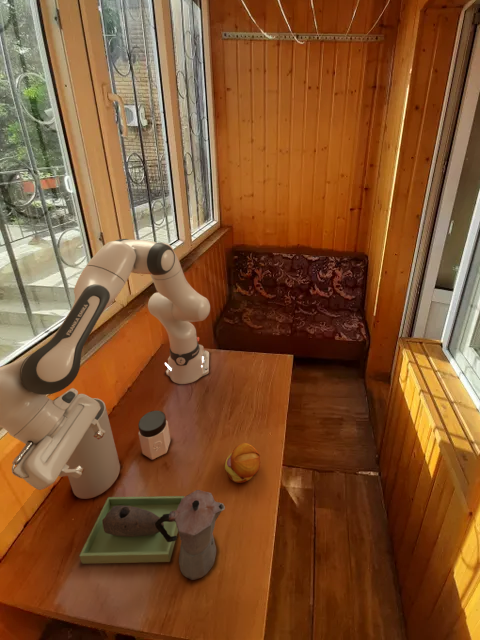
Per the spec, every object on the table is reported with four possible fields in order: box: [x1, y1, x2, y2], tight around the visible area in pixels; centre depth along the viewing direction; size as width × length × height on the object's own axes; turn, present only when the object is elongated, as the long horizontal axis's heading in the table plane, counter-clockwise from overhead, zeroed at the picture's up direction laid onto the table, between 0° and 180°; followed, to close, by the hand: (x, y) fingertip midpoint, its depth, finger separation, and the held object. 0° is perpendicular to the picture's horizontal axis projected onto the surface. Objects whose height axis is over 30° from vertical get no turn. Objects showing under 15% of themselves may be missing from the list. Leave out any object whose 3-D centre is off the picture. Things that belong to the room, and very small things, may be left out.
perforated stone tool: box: [102, 505, 164, 537], centre depth 80 cm, size 15×5×7 cm, turn 85°
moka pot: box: [155, 489, 226, 581], centre depth 73 cm, size 10×15×20 cm, turn 106°
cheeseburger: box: [224, 442, 261, 484], centre depth 96 cm, size 10×11×10 cm
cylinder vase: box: [66, 397, 121, 500], centre depth 90 cm, size 12×12×25 cm
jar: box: [137, 410, 172, 461], centre depth 102 cm, size 9×8×12 cm
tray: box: [78, 495, 185, 565], centre depth 81 cm, size 13×21×3 cm, turn 91°
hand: (92, 453), depth 76 cm, fingers open, 8 cm apart
